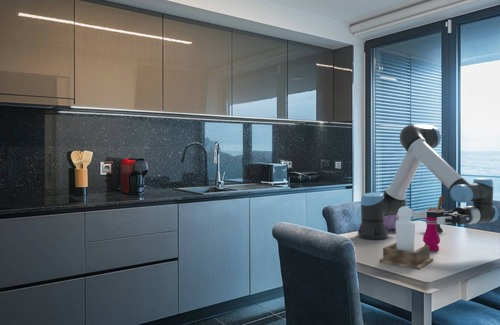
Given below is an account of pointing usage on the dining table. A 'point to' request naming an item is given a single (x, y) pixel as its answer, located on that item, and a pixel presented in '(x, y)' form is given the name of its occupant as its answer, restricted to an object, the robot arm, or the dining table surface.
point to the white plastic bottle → (405, 230)
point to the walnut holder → (406, 257)
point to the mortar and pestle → (439, 210)
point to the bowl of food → (391, 221)
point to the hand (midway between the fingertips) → (425, 217)
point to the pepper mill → (431, 233)
